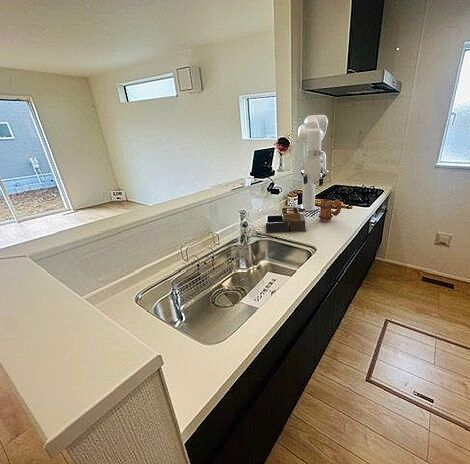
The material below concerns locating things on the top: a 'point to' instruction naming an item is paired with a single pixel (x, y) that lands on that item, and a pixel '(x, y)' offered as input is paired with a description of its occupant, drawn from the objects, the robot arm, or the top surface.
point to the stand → (297, 225)
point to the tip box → (292, 216)
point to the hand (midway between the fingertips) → (313, 184)
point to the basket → (276, 224)
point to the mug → (329, 209)
